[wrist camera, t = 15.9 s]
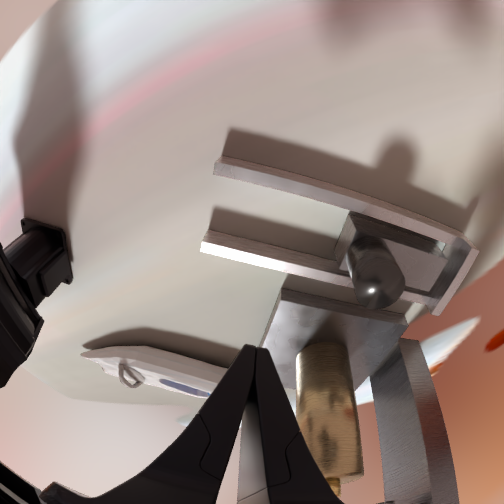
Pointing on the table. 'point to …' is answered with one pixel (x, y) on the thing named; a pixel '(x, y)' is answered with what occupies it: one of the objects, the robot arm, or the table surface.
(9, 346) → the robot arm
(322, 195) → the guide rail
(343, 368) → the disc
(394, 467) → the press bed
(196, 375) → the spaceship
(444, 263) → the sliding block with knob
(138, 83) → the table surface
